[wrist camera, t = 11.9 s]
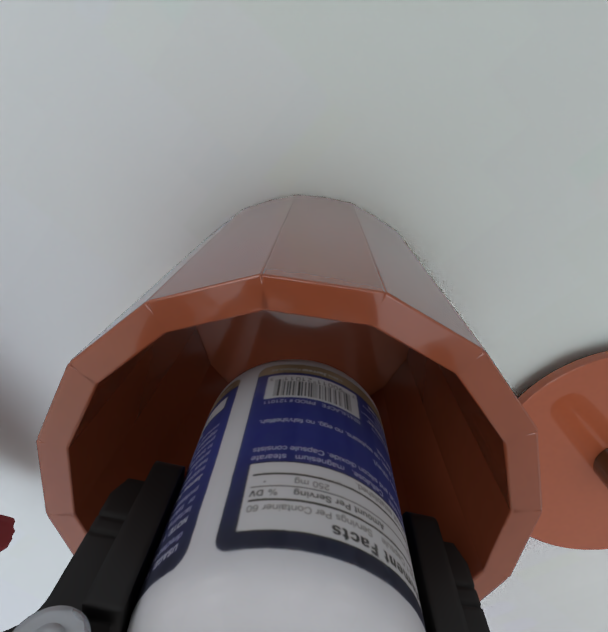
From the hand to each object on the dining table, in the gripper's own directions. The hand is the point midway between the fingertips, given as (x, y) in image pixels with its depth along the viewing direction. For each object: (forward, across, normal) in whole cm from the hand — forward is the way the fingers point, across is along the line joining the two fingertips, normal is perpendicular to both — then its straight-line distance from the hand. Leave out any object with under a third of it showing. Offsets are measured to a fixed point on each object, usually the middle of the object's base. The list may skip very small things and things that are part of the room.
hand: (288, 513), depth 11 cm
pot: (+13, 0, 0) cm, 13 cm away
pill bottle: (+4, 0, 0) cm, 4 cm away
